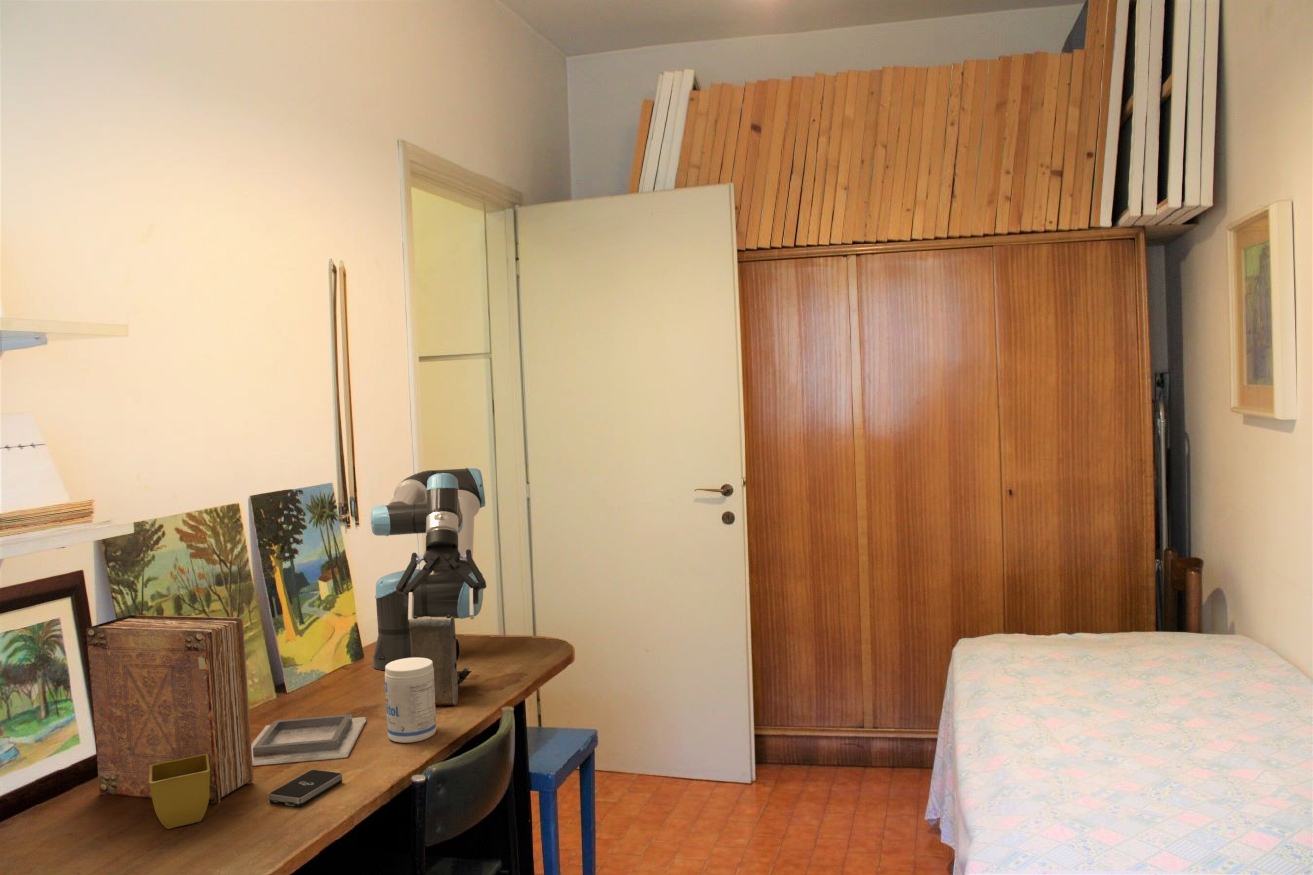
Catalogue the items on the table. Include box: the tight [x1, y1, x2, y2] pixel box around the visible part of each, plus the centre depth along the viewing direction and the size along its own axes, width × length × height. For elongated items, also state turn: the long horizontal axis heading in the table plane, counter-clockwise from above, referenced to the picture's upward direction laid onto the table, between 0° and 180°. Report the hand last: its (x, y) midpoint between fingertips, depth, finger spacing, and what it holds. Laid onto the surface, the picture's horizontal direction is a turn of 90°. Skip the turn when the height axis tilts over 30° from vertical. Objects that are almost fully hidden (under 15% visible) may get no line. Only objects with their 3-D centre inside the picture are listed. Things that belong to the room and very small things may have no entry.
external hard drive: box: [268, 768, 343, 809], centre depth 165 cm, size 7×11×2 cm, turn 159°
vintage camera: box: [409, 615, 472, 707], centre depth 215 cm, size 10×16×20 cm, turn 174°
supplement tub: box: [384, 658, 437, 744], centre depth 191 cm, size 10×10×15 cm
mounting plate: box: [251, 713, 367, 767], centre depth 189 cm, size 20×20×3 cm
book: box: [85, 614, 255, 806], centre depth 169 cm, size 25×9×30 cm, turn 74°
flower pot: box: [149, 754, 210, 830], centre depth 156 cm, size 9×9×9 cm
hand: (441, 619), depth 216 cm, fingers open, 13 cm apart
